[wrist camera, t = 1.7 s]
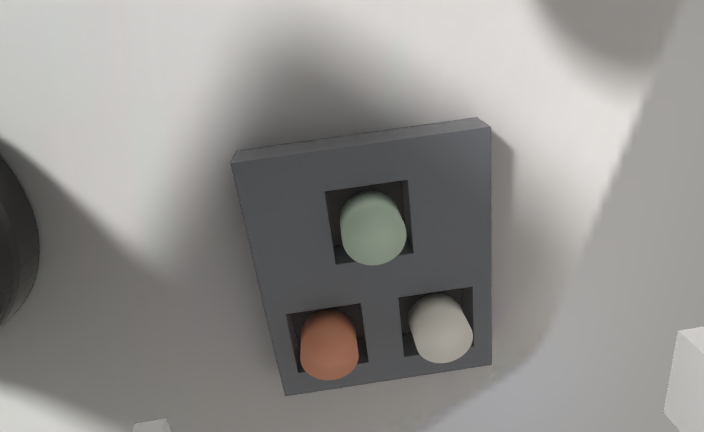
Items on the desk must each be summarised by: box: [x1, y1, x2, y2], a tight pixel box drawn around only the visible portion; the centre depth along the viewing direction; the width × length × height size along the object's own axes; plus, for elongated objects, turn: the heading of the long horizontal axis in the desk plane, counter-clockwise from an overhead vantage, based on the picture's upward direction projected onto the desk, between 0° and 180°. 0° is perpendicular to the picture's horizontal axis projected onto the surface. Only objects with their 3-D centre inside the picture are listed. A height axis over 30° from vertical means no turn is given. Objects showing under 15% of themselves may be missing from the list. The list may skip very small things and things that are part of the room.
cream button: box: [408, 293, 473, 363], centre depth 26 cm, size 3×3×2 cm
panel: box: [231, 117, 492, 396], centre depth 26 cm, size 12×14×2 cm
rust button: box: [300, 310, 359, 380], centre depth 26 cm, size 3×3×2 cm
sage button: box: [339, 191, 406, 265], centre depth 23 cm, size 3×3×2 cm
